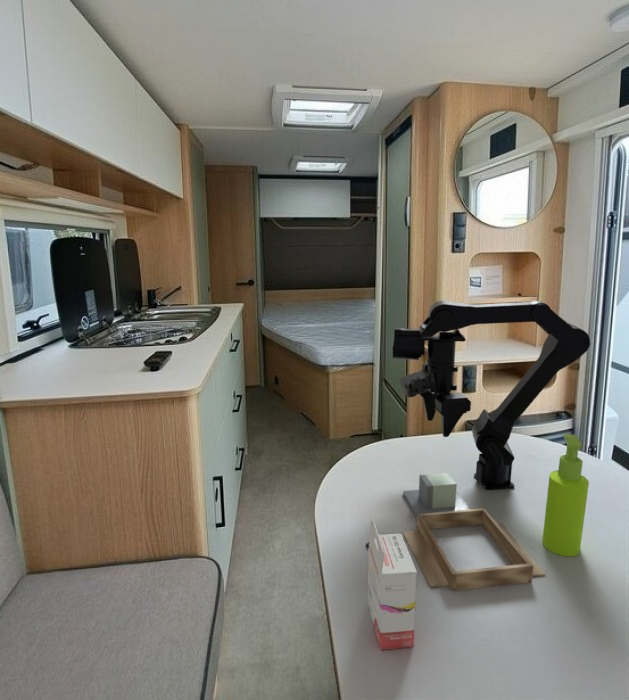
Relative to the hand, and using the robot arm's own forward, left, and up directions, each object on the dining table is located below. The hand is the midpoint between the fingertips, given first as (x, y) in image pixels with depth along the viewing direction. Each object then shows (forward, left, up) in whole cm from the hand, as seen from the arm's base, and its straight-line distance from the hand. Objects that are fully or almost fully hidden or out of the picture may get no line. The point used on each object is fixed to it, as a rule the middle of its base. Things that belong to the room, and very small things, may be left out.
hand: (437, 428), depth 103 cm
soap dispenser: (-13, +26, -12) cm, 32 cm away
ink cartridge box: (+22, +39, -12) cm, 46 cm away
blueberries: (+19, +23, -13) cm, 32 cm away
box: (+4, +11, -11) cm, 16 cm away
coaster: (+4, +11, -12) cm, 17 cm away
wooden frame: (+4, +26, -12) cm, 29 cm away
